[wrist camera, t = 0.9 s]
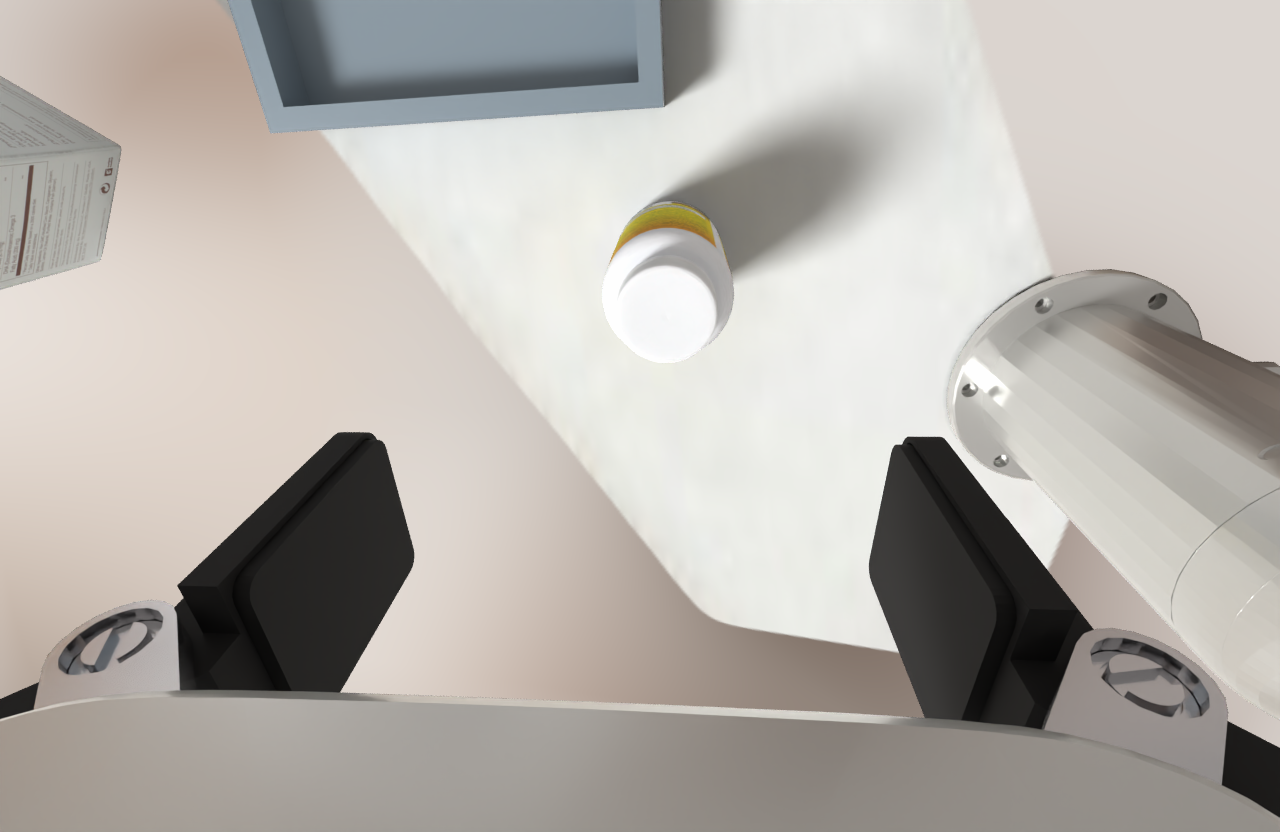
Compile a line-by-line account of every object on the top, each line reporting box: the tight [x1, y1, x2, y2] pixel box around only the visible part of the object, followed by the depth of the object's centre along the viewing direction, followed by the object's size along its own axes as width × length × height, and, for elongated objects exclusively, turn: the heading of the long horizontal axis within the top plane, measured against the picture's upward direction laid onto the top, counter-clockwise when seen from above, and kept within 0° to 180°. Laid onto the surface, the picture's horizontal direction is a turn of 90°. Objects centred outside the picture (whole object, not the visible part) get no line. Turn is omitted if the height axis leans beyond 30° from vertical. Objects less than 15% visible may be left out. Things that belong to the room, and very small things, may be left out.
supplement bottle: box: [602, 201, 734, 363], centre depth 27 cm, size 6×6×10 cm
